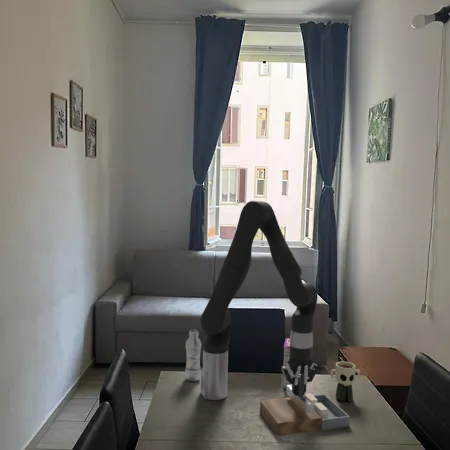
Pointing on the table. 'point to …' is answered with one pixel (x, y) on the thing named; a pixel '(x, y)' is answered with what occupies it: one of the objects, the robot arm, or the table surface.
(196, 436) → the table surface
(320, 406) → the cream tile
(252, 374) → the table surface
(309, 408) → the bar
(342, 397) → the character mug
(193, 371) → the plastic bottle
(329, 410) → the box
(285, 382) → the candy bar box
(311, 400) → the cream tile
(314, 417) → the walnut plate
